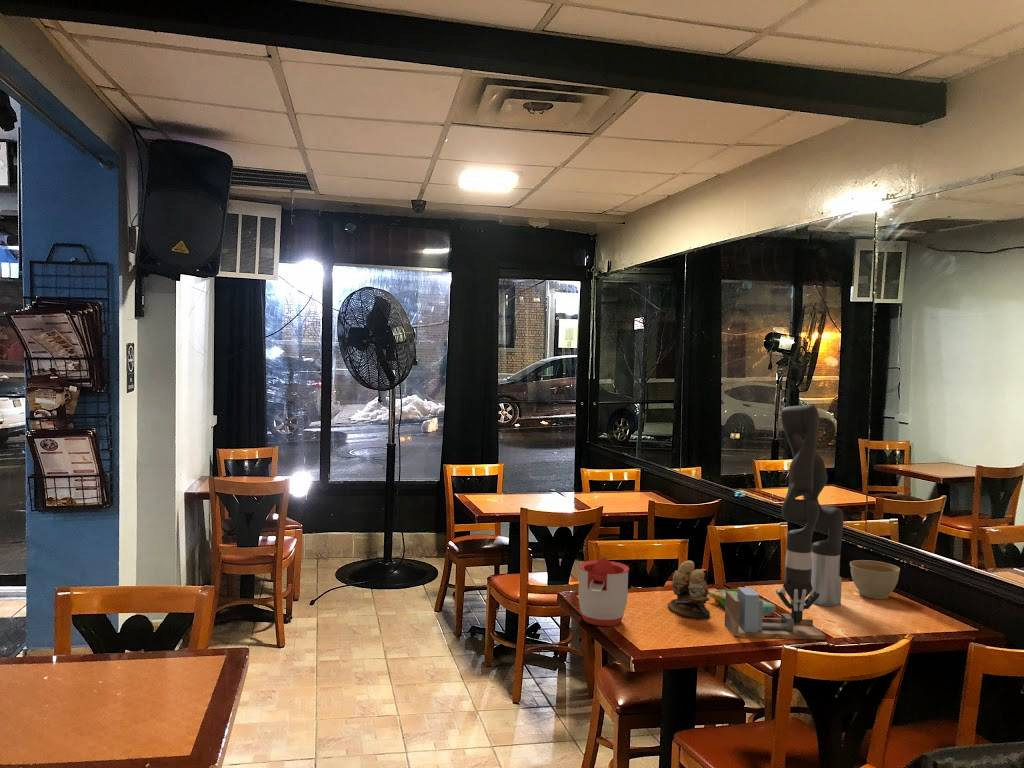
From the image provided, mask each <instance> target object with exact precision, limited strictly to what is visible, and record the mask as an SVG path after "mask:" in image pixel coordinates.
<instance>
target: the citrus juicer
mask: <svg viewBox="0 0 1024 768" xmlns="http://www.w3.org/2000/svg"><path fill="white" fill-rule="evenodd" d="M578 571H579V574H578V603H579V605H578V606H579V609H580V614H581V616H582V620H583V621H584V622H586V624H590V625H595V626H600V627H601V626H603V627H608V628H609V627H613V626H616V625H619V624H620V623H621V622H622V620H623V617H624V614H625V612H626V607H627V603H628V594H629V593H628V587H629V572H630V568H629V566H628V565H626V564H623V563H622V562H617V561H611V560H609V559H608V558H607V557H606V556H602V557H601V558H599V559H598V560H594V559H593V560H586V561H582V562H581V563H579V564H578Z"/></svg>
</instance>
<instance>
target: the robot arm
mask: <svg viewBox="0 0 1024 768" xmlns="http://www.w3.org/2000/svg"><path fill="white" fill-rule="evenodd" d="M780 413H781V414H780V418H781V419H780V421H781V425H782V429H783V432H784V434H785V437H786V439H787V442H788V443H787V444H788V445H789V448H790V451H791V455H792V460H791V462H790V466H789V470H788V488H787V492H786V496H785V499H784V500H783V503H782V506H781V516H782V518H783V520H785V521H786V522H789V523H796V524H797V523H798V524H805V526H803V527H802V528H799V529H791V530H788V531H787V535H786V551H785V552H786V553H785V559H784V560H785V566H784V583H783V585H782V588H781V589H777V590H776V591H775V593H776V595H777V596H778V597H779V599H780V600H781V601H782V603H783V604H784V606H786V607H787V609H788V610H789V609H790V610H791V613H790V614H791V615H790V616H791V617H792V618H793V619H794V622H795V623H800V621H802V619H803V612H804V610H809V609H810V607H812V605H813V604H815V605H819V606H823V607H836V606H841V605H842V604H841V603H842V587H843V586H842V582H843V581H842V580H843V578H842V576H840V568H841V550H842V543H843V542H842V541H843V539H842V538H843V531H844V513H843V510H842V509H841V508H839V507H835V506H829V505H821V504H820V503H819V497H820V494H821V492H822V491H823V489H824V488H825V487H826V484H827V482H828V478H829V477H828V472H827V469H826V464H825V462H824V459H823V457H821V455H820V454H819V453H818V452H817V446H818V445H817V444H818V438H819V432H820V424H821V423H820V413H819V410H818V408H817V407H816V406H815V405H813V404H807V405H806V404H805V405H792V406H790V405H789V406H786V407H784V408H782V410H781V412H780ZM801 435H806V436H805V439H804V440H803V438H802V437H801ZM799 497H803V499H802V498H801V499H800V498H799ZM798 498H799V499H798ZM814 532H818V533H823V534H827V535H828V536H827V538H826V539H824V540H819V541H815V542H813V535H814ZM786 595H787V596H788V597H789V600H788V599H787V597H786ZM789 601H790V602H789Z"/></svg>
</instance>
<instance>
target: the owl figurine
mask: <svg viewBox="0 0 1024 768" xmlns="http://www.w3.org/2000/svg"><path fill="white" fill-rule="evenodd" d="M695 565H696V564H695V562H694V561H693V560H686V561H683V562H682V563H681V564H680V566H679V567H678V570H675V571H674V572H673V576H672V580H671V581H672V582H671V585H672V592H673V594H674V595H676V597H677V598H674V599H671V601H669V602H668V603H667V610H668V611H669V612H671V611H672V612H673V613H672V612H671V613H672V614H674V613H675V614H674V615H676V614H677V615H676V616H678V615H679V617H680V616H681V617H680V618H684V619H687V620H696V621H699V620H701V619H702V620H703V619H706V620H707V619H710V617H711V611H710V610H709V609H708V608H707V607H706V603H707V602H709V601H710V596H708V593H709V592H708V591H709V587H708V585H707V582H706V581H705V576H706V573H705V572H704V571H703V570H701V569H698V568H696V569H695Z"/></svg>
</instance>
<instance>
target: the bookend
mask: <svg viewBox="0 0 1024 768" xmlns="http://www.w3.org/2000/svg"><path fill="white" fill-rule="evenodd" d="M761 599H762V598H760V597H759V616H758V631H762V629H786V630H789V631H793V626H794V619H793V618H792V617H791V615H790V614H789V613H780V618H781V623H762V618H763V617H762V612H763V601H762V600H763V599H762V600H761Z"/></svg>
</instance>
